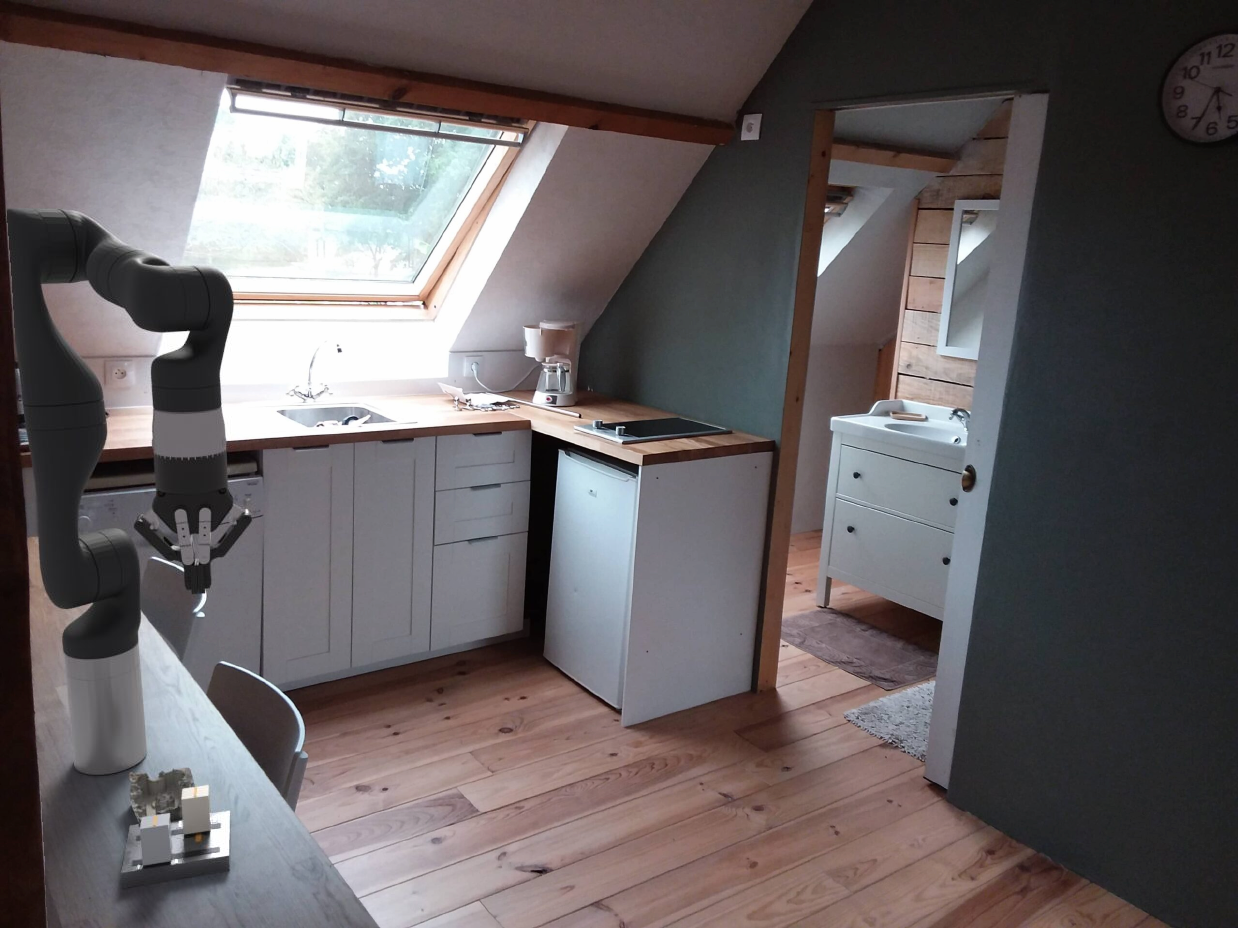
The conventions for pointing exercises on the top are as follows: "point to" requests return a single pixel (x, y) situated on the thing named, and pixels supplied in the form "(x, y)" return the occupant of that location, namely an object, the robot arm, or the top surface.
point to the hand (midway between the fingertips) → (198, 591)
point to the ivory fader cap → (196, 809)
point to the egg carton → (159, 793)
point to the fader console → (180, 853)
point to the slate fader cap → (156, 839)
